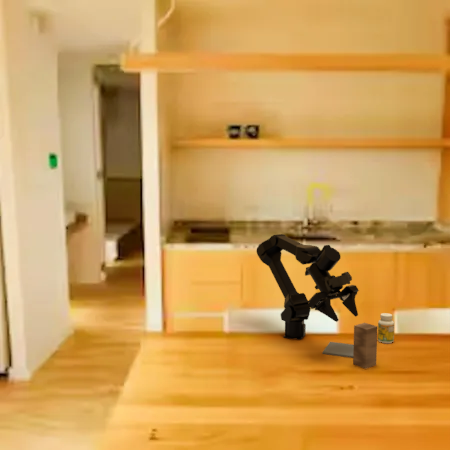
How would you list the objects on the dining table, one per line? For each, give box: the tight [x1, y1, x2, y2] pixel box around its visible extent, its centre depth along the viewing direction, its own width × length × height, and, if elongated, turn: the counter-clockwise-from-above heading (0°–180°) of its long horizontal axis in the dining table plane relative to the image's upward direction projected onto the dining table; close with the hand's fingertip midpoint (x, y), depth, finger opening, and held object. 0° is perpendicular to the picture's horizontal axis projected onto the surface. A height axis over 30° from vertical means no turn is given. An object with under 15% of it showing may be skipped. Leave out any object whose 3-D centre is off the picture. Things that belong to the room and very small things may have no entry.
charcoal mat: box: [322, 341, 354, 359], centre depth 197 cm, size 11×11×1 cm
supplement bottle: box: [377, 312, 395, 344], centre depth 205 cm, size 5×5×10 cm
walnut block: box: [352, 322, 378, 369], centre depth 184 cm, size 5×5×12 cm
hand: (347, 318), depth 188 cm, fingers open, 9 cm apart
